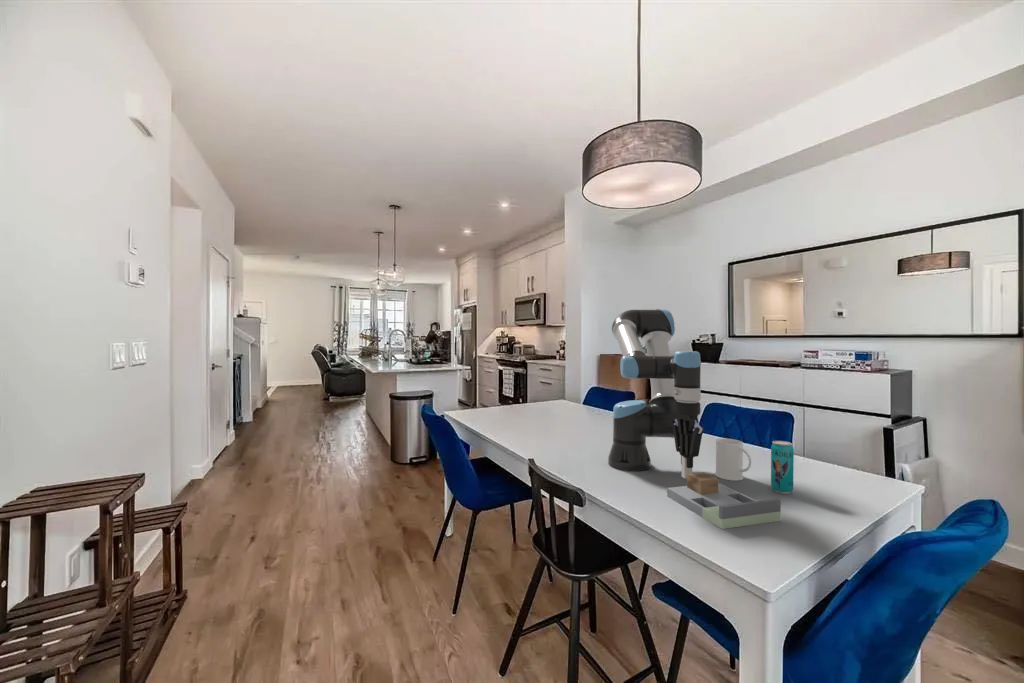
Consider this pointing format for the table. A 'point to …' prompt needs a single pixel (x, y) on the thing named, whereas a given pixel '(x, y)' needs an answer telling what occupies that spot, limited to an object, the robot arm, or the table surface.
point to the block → (702, 483)
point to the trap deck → (727, 506)
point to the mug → (730, 459)
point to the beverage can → (782, 467)
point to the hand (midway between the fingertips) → (686, 477)
